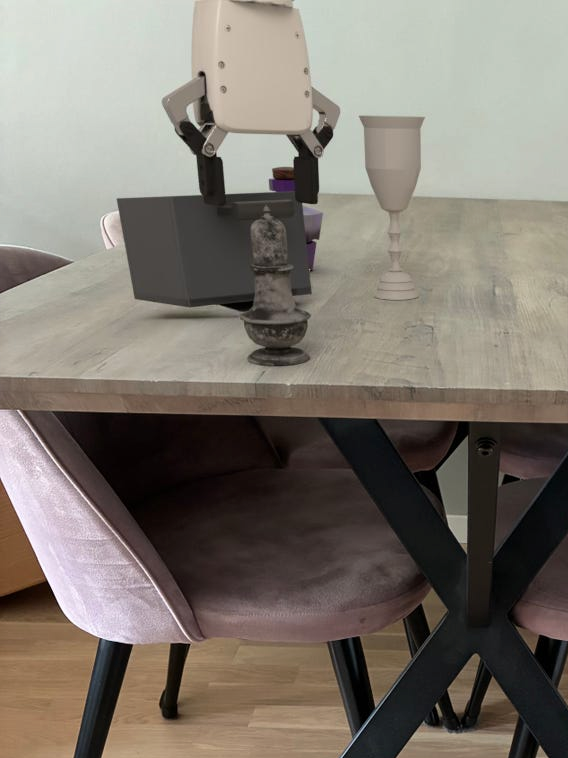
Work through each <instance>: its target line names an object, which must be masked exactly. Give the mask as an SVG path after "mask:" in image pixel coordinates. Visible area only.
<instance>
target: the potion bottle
mask: <svg viewBox="0 0 568 758" xmlns="http://www.w3.org/2000/svg"><path fill="white" fill-rule="evenodd" d="M271 173H272V178H268V188H269V189H268V190H269V191H270V192H290V191H295V185H294V166H278V167H273V168H271ZM302 206H303V216H304V225H305V235H306V244H307V253H308V263H309V269H314V263H315V256H316V250H317V241H315V240H318V241H319V240H320V236H321V230H322V223H323V222H322V221H323V215H324V212H322V211H319V210H317V209H314V208H311V207H308V206H305V205H303V204H302Z"/></svg>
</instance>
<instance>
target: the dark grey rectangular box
mask: <svg viewBox="0 0 568 758" xmlns="http://www.w3.org/2000/svg"><path fill="white" fill-rule="evenodd" d="M225 195H226V204H225V205H224V206H214V205H209V204H205V202H204V199H203V195H202V194H192V195H191V194H189V195H167V196H165V195H164V196H144V197H143V196H141V197H139V196H138V197H118V198H116V203H117V204H116V205H117V207H118V208H117V209H118V214H119V221H120V226H121V231H122V238H123V242H124V243H123V244H124V247H125V253H126V258H127V264H128V269H129V275H130V281H131V287H132V292H133V297H134V300H138V301H145V302H152V303H157V304H163V305H169V306H170V305H171V306H178V307H182V308H191V309H192V308H199V307H208V306H216V305H217V306H218V305H227V304H233V303H235V304H236V303H245V302H254V298H255V284H254V274H253V271H252V270H251V269H250V268H249V266H250V265H252V264H253V252H252V241H251V226H252V224H253V223H254V222H255V221H256V220H258V219H260V218H261V217H262V216H264V212H263V211H262V210H264V207H265V205H267V206H268V207H269V210H271V211H270V216H273V218H274V219H277V220H279V221H280V222H282V223H283V225H284V226H285V229H286V238H287V252H288V263H289V264H291V265H292V266H293V269H291V271H290V280H291V292H292V296H293V297H298V296H306V295H312V294H313V292H312V283H311V274H310V272H311V271H310V272H309V263H308V253H307V244H306V235H305V225H304V216H303V206H304V205H303V203H300V202H298V201H296V199H295V191H290V192H276V191H270V192H268V191H267V192H245V193H244V192H243V193H240V192H239V193H238V192H237V193H225ZM302 205H303V206H302Z"/></svg>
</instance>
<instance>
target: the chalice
mask: <svg viewBox="0 0 568 758" xmlns="http://www.w3.org/2000/svg"><path fill="white" fill-rule="evenodd" d="M358 118H359V121H360V123H361V125H362V126H363V127H362V128H363V135H364V136H363V144H364V167H365V171H366V174H367V177H368V180H369V184H370V186H371V188H372V191H373V194H374V195H375V197H376V200H377V202H378V204H379V206H380V208H381V209H382V210H383V211H385V212H387V213H388V215H389V220H390V222H389V229H387V234H388V236H389V240H390V244H389V247H388V248H387V249H386V250H387V252H388V253H389V256H390V261H391V262H390V268H389V269H388V272H386V273H383V274H382V275H381V277H380V278H379V282H378V284H377V286H376V288H377V289H376V291H375V293H374V294H373V297H374V298H376V299H381V300H388V301H389V300H390V301H405V300H413V299H416V298H419V294H418V293H417V291H416V289H415V288H416V286H415V285H414V283H413V278H412V277H411V276H410V275H409V274H408V273H405V272H403V268H401V263H400V260H401V259H400V258H401V254H402V253H403V252H404V250H403V248H402V247H401V244H400V237H401V235H402V233H403V231H402V230H401V228H400V222H399V218H400V213H402V212H404V211H406V210H407V209H408V207H409V204H410V201H411V200H412V197H413V194H414V192H415V189H416V187H417V183H418V180H419V177H420V173H421V169H422V153H421V152H422V146H421V145H422V144H421V143H422V142H421V140H422V139H421V137H422V135H421V134H422V133H421V132H422V131H421V128H422V126H423V123H424V121H425V119H426V116H416V115H415V116H411V115H410V116H409V115H408V116H407V115H358Z"/></svg>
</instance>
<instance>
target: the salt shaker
mask: <svg viewBox="0 0 568 758" xmlns="http://www.w3.org/2000/svg"><path fill="white" fill-rule="evenodd" d="M262 211H263V212H264V216H262V217H261V218H260V219H258V220H256V221H255V222H254V223H253V224H252V226H251V241H252V252H253V264H252V265H250V266H249V268H250V269H251V270H252V271H253V274H254V284H255V298H254V301H253V303H252V306H251V307H250V308H249V309H248V310H246V311H243V312H241V313H240V314H239V315H238V316H239V319H240V320H241V321H242V322H243V326H244V330H245V332H246V333H247V336H248V338H249V340H251V341H252V342H253V343H254V344H255V345H257V346H260V347H262V348H258V349H255V350H253V351H252V352H251V353H249V354H248V355H247V357H246V359H247V361H248V362H249V363H251V364H255V365H259V366H270V367H272V366H273V367H275V366H277V367H279V366H280V367H282V366H291V365H292V366H293V365H299V364H302V363H303V364H304V363H306V362H308V361H309V360H311V355H310V354H309V353H308V352H306V351H305V350H303V349H301V348H299V347H293V346H295V345H298V344H300V342H301V341H302V340H303V339H304V338H305V336H306V334H307V329H308V327H309V325H308V320H310V319H311V317H312V314H311V313H310V312H309V311H306V310H304V309H301V308H300V307H299V306H298V305H296V302H295V299H294V296H292V292H291V280H290V271H291V269H293V266H292V265H291V264H289V263H288V252H287V238H286V229H285V226H284V225H283V223H282V222H280V221H279V220H277V219H274V218H273V216H270V211H271V210H269V207H268V206H267V205H265V207H264V210H262Z"/></svg>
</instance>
